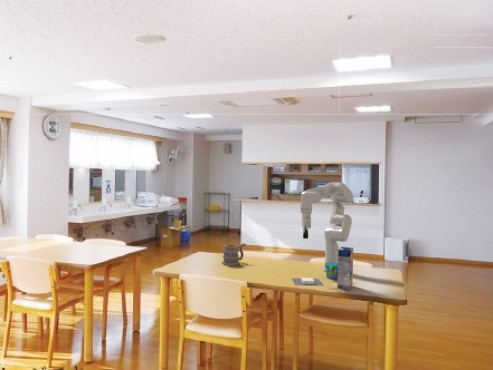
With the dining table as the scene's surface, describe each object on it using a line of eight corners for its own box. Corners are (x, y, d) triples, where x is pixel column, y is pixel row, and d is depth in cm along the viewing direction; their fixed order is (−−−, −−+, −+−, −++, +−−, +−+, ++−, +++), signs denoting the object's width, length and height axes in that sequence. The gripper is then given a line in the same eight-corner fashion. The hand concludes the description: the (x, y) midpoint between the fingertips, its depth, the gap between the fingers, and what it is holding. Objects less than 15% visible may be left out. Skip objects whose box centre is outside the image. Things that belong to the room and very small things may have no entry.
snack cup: (328, 275, 277) (328, 260, 277) (343, 277, 272) (343, 262, 272) (321, 280, 264) (321, 264, 263) (336, 282, 259) (337, 266, 258)
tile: (312, 277, 258) (314, 281, 250) (312, 281, 258) (314, 284, 250) (301, 277, 257) (303, 280, 249) (301, 281, 257) (303, 284, 249)
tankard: (227, 266, 299) (227, 246, 299) (219, 262, 310) (220, 243, 310) (250, 263, 309) (250, 244, 309) (242, 260, 320) (242, 242, 320)
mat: (318, 279, 264) (318, 278, 264) (323, 286, 247) (323, 285, 247) (291, 279, 264) (291, 278, 264) (294, 286, 247) (294, 285, 247)
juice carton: (340, 284, 254) (341, 246, 254) (352, 285, 251) (353, 247, 251) (337, 288, 243) (338, 249, 242) (349, 290, 240) (350, 250, 240)
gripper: (313, 211, 257) (313, 240, 258) (309, 210, 272) (309, 236, 273) (302, 211, 257) (301, 240, 258) (298, 209, 272) (298, 236, 273)
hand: (305, 238), depth 265 cm, fingers closed
